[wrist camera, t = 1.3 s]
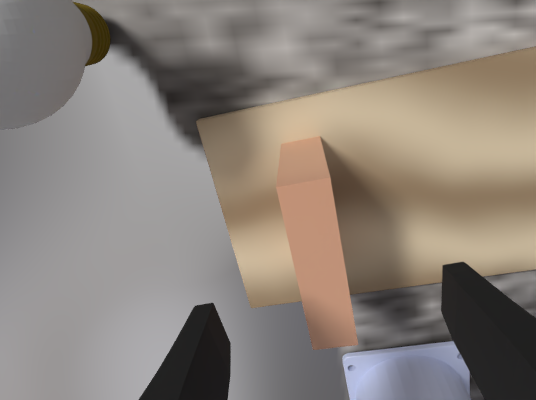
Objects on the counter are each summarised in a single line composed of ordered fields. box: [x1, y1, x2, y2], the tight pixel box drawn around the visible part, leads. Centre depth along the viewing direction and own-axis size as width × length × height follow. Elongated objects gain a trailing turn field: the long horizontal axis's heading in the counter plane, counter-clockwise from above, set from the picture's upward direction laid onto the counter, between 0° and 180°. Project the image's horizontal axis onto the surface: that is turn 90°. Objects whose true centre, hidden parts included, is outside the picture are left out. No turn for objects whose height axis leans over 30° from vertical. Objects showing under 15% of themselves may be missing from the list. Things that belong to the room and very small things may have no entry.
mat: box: [196, 47, 536, 308], centre depth 20 cm, size 12×18×1 cm, turn 102°
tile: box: [276, 136, 358, 350], centre depth 18 cm, size 8×2×6 cm, turn 12°
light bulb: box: [0, 0, 110, 130], centre depth 14 cm, size 6×6×10 cm
